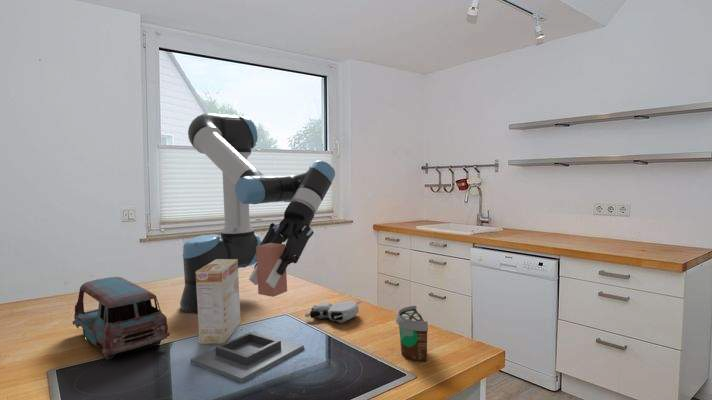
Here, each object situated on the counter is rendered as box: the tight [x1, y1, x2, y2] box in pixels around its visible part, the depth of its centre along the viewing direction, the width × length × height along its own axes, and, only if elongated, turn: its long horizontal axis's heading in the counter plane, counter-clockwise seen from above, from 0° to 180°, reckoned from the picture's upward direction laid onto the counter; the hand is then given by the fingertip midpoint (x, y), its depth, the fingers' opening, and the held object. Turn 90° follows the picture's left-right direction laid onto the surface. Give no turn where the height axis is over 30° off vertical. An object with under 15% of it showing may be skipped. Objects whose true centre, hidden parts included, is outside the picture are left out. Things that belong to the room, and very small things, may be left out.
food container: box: [395, 305, 429, 363], centre depth 102 cm, size 12×6×10 cm, turn 5°
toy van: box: [72, 276, 171, 360], centre depth 114 cm, size 16×32×15 cm, turn 46°
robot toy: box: [304, 300, 362, 324], centre depth 129 cm, size 12×4×15 cm
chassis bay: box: [189, 330, 305, 384], centre depth 103 cm, size 18×20×3 cm
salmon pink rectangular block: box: [256, 243, 288, 298], centre depth 105 cm, size 5×5×12 cm
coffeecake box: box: [195, 259, 242, 345], centre depth 118 cm, size 15×7×20 cm, turn 178°
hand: (261, 283), depth 102 cm, fingers closed on salmon pink rectangular block, 5 cm apart
